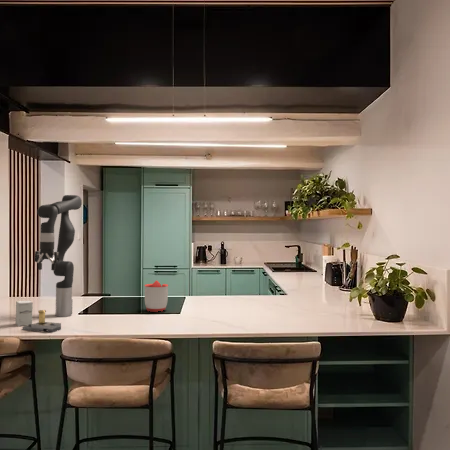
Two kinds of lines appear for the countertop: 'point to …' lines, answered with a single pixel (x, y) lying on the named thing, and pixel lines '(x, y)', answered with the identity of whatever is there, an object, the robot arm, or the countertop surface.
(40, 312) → the pin
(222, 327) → the countertop surface
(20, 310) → the supplement box
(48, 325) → the chain end upper
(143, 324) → the countertop surface
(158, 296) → the citrus juicer
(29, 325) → the chain end lower
